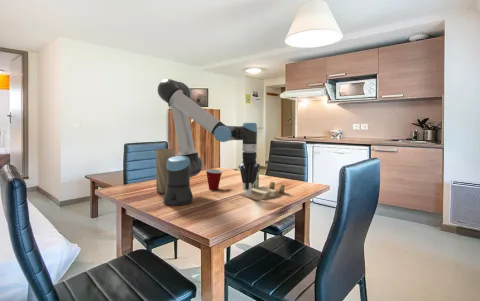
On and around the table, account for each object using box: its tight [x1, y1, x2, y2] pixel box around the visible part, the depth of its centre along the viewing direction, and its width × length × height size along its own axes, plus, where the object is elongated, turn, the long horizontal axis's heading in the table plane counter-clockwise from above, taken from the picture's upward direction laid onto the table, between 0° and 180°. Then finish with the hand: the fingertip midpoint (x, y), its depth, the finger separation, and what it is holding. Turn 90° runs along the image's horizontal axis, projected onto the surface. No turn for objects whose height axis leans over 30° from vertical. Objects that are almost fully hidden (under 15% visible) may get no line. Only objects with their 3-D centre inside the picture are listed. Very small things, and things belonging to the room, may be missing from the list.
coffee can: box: [241, 167, 260, 192], centre depth 165 cm, size 10×10×14 cm
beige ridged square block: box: [251, 185, 279, 199], centre depth 153 cm, size 12×12×3 cm
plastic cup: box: [205, 168, 223, 191], centre depth 170 cm, size 11×11×12 cm
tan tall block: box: [155, 148, 174, 194], centre depth 164 cm, size 10×10×25 cm
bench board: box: [238, 181, 291, 203], centre depth 154 cm, size 26×16×6 cm, turn 127°
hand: (248, 194), depth 147 cm, fingers closed
